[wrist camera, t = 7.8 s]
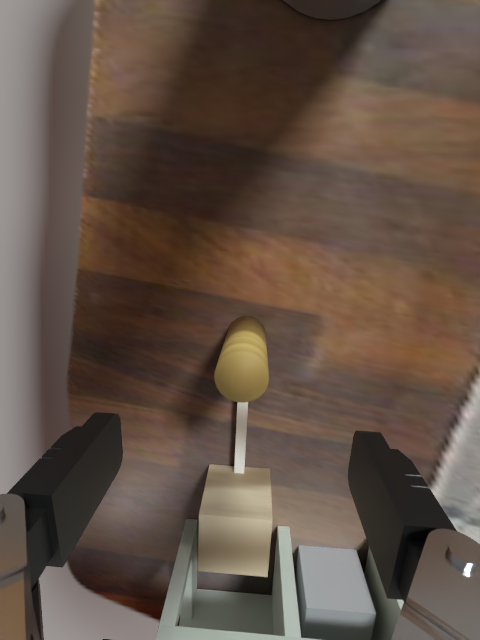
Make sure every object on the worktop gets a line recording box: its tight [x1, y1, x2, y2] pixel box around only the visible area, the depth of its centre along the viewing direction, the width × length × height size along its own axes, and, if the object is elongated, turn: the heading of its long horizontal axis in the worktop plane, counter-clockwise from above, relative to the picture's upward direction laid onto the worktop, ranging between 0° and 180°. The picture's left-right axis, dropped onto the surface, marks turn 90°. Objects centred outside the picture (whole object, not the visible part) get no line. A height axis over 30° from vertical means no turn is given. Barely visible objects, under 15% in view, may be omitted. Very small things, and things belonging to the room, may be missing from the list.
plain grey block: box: [295, 546, 376, 640], centre depth 27 cm, size 5×5×5 cm
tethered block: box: [198, 316, 273, 577], centre depth 22 cm, size 18×5×8 cm, turn 177°
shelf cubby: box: [155, 519, 404, 640], centre depth 25 cm, size 9×17×9 cm, turn 88°
